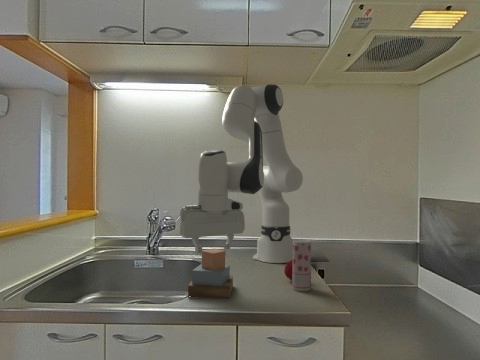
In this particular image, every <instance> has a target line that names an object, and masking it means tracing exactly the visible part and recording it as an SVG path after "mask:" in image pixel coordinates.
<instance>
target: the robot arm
mask: <svg viewBox="0 0 480 360" xmlns="http://www.w3.org/2000/svg"><path fill="white" fill-rule="evenodd" d="M283 106H284V95H283V91H282V89H281V88H280V87H279V86H278V85H277V84H271V83H270V84H267V85H259V86H258V85H257V86H253V87H249V86H247V85H238V86H236V87H234V88H233V89H232V90H231V92H230V94H229V96H228V98H227V100H226V102H225V106H224V109H223V113H222V119H221V120H222V121H221V124H222V126H223V127H222V128H223V129H224V131H225V132H227V133H228V135H230V136H231V137H233V138H235V139H238V140H241V141H244V142H246V143H248V159H247V160H244V161H228V158H227V153H226V151H224V150H221V149H211V150H205V151H203V152H202V153H201V154H200V156H199V163H198V164H199V165H198V179H197V180H198V183H199V189H198V193H197V194H198V198H197V199H198V200H197V201H198V204H194V205H185V206H184V207H182V208H181V210H180V225H179V235H180V236H181V237H182V238H185V239H191V241H192V243H193V245H194V247H195V248H194V249H195V252H196V253H202V251H203V246H202V245H199V240H200V238H202V237H203V238H205V237H214V236H215V237H216V236H217V237H218V236H224V235H225V236H226V237H227V238H226V241H225V242H224V243H223V249H224V250H231V244H232V242H233V240H234V238H235V235H236V234H237V235H239V234H243V233H244V231H245V229H246V225H245V222H246V221H245V220H246V219H245V215H244V212H243V211H242V210H243V207H244V205H243V202H240V201H237V200H234V199H230V198H229V194H228V193H243V194H249V195H255V194H256V193H258V195H259V198H260V202H261V209H262V212H261V214H262V218H261V219H262V221H261V222H262V224H261V228H260V230H261V231H260V233H261V235H260V236H259V238H258V239H257V241H256V251H257V252H256V253H255V254H254V255H253V256H252V260H256V261H259V262H263V263H269V264H271V263H272V264H284V263H285V264H287V263H288V262H289V261H290V260H292V258H293V241H294V240H295V239H293V238H292V237H291V231H292V230H291V226H290V206H289V204H288V203H287V202H286V201H285V199H284V198H283V197H284V196H283V194H282V193H286V194H287V193H292V192H296V191H298V190H300V188H301V186H302V185H303V180H304V179H303V173H302V171H301V169H300V168H298V167H297V166H296V165H295V164H294V163H293V161H292V160H291V157H290V156H289V154H288V151H287V149H286V144H285V139H284V133H283V127H282V122H281V118H280V115H279V112H280V111H281V110H282V108H283ZM264 161H265V163H266V164H267V165H264Z"/></svg>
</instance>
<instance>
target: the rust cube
mask: <svg viewBox="0 0 480 360" xmlns="http://www.w3.org/2000/svg"><path fill="white" fill-rule="evenodd" d="M201 264H202V267H203V268H206V269H210V270H217V269H221V268H225V265H226V250H223V249H222V250H221V249H219V248H218V249H217V248H210V249H204V250H203V249H202V252H201Z"/></svg>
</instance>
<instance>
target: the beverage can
mask: <svg viewBox="0 0 480 360" xmlns="http://www.w3.org/2000/svg"><path fill="white" fill-rule="evenodd" d="M293 240H294V241H293V273H292V281H291V283H292V285H291V287H292V289H293V290H294V291H298V292H309V291H310V290H311V289H312V275H311V274H312V243H311V240H308V239H304V238H303V239H302V238H301V239H293Z"/></svg>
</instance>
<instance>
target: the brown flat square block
mask: <svg viewBox="0 0 480 360" xmlns="http://www.w3.org/2000/svg"><path fill="white" fill-rule="evenodd" d="M233 287H234V275H230V278H229V279H228V280H227V281H226V282H225V283H224V284H223V285H222V286H213V285H200V284H192V280H190V282H189V284H188V286H187V297H188V298H189V296H191V297H198V299H231V295H232V291H233Z"/></svg>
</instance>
